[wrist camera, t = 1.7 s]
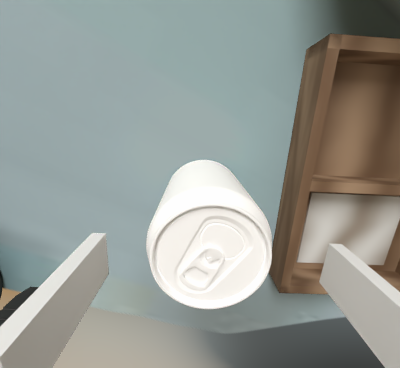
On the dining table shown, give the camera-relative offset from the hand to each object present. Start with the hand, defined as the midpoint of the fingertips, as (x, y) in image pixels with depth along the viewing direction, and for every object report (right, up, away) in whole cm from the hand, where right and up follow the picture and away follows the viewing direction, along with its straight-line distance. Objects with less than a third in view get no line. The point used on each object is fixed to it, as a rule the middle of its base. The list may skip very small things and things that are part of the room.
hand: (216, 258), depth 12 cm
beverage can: (-1, +3, +11) cm, 12 cm away
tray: (+17, +5, +11) cm, 21 cm away
